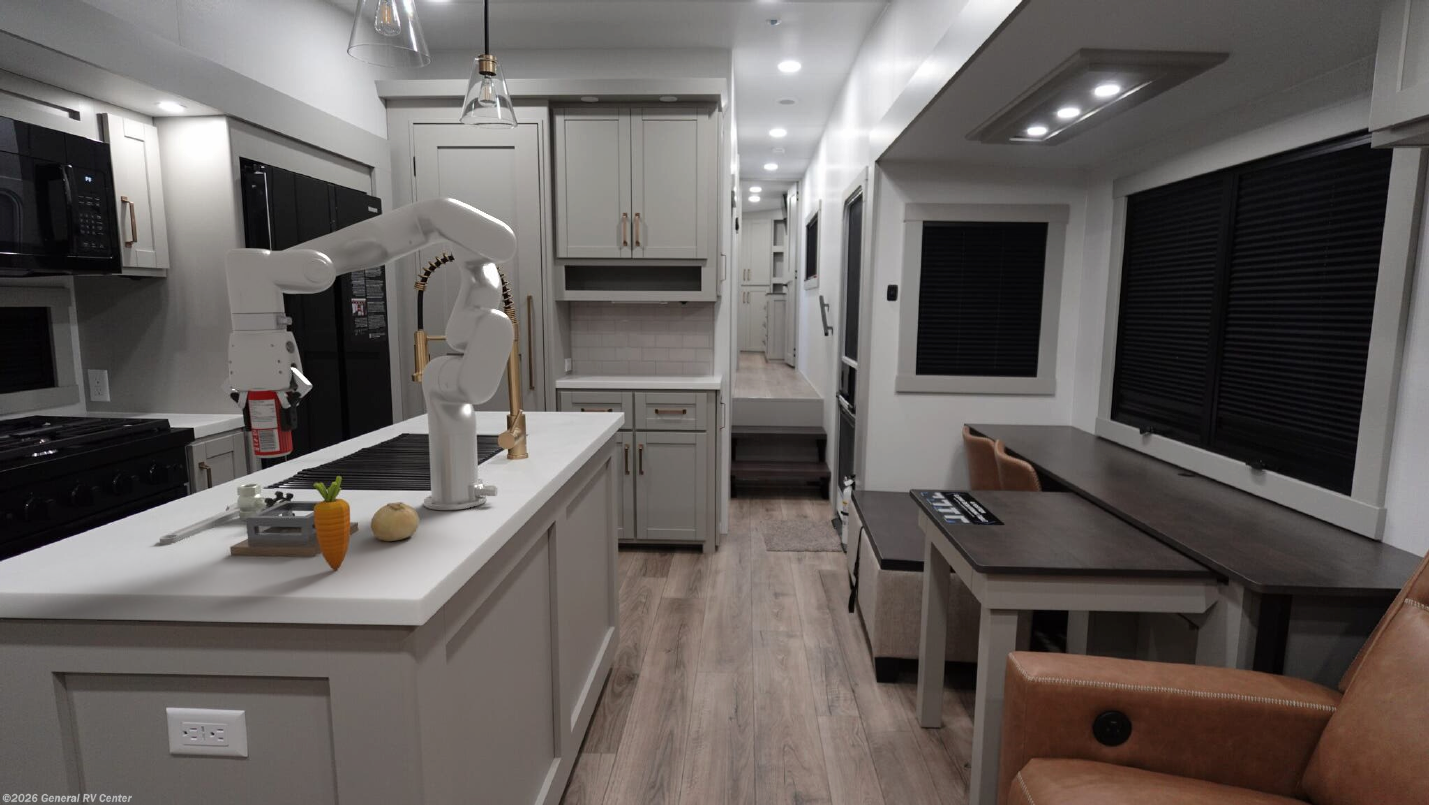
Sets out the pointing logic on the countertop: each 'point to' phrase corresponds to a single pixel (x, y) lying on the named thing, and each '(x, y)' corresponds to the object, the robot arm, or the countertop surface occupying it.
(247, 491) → the valve
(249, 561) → the countertop surface
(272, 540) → the collar stand
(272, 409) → the soda can
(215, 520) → the adjustable wrench
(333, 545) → the carrot
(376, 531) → the onion
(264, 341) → the robot arm
